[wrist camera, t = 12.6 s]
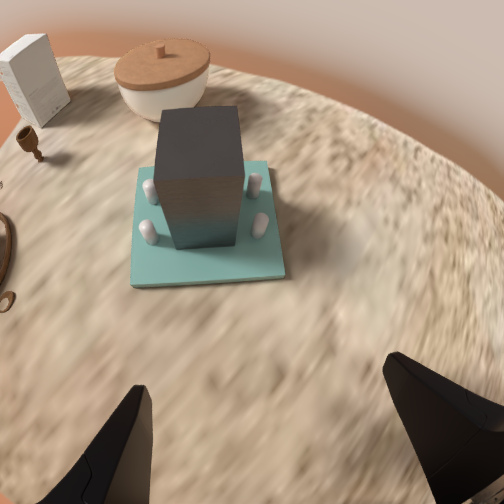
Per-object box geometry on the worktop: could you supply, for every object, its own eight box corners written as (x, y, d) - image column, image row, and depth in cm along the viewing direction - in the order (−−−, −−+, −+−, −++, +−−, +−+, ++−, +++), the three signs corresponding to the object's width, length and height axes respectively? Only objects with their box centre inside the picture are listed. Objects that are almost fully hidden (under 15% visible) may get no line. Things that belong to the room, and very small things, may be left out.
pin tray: (282, 278, 25) (292, 265, 22) (133, 287, 23) (121, 276, 20) (265, 166, 29) (270, 144, 26) (140, 173, 27) (133, 152, 24)
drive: (234, 246, 24) (245, 175, 15) (176, 249, 24) (153, 181, 14) (229, 186, 26) (236, 105, 17) (176, 189, 26) (162, 109, 17)
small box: (72, 101, 31) (47, 32, 19) (41, 129, 29) (7, 61, 17) (49, 92, 32) (26, 33, 20) (21, 117, 29) (-9, 59, 17)
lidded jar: (151, 80, 33) (144, 26, 25) (221, 90, 33) (225, 31, 25) (110, 129, 29) (91, 69, 21) (188, 144, 29) (183, 75, 21)
